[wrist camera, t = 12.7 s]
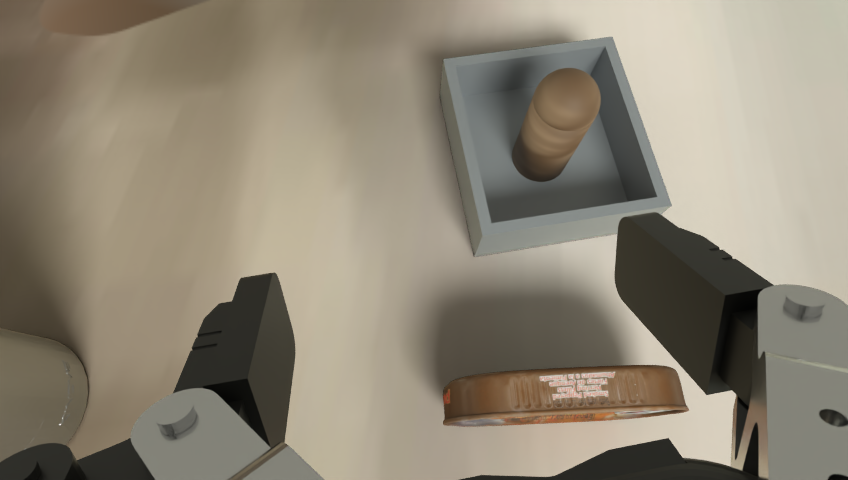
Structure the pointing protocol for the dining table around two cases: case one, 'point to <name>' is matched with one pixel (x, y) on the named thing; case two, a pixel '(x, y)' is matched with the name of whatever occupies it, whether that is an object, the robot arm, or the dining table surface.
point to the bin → (584, 173)
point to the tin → (563, 395)
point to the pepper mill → (555, 123)
